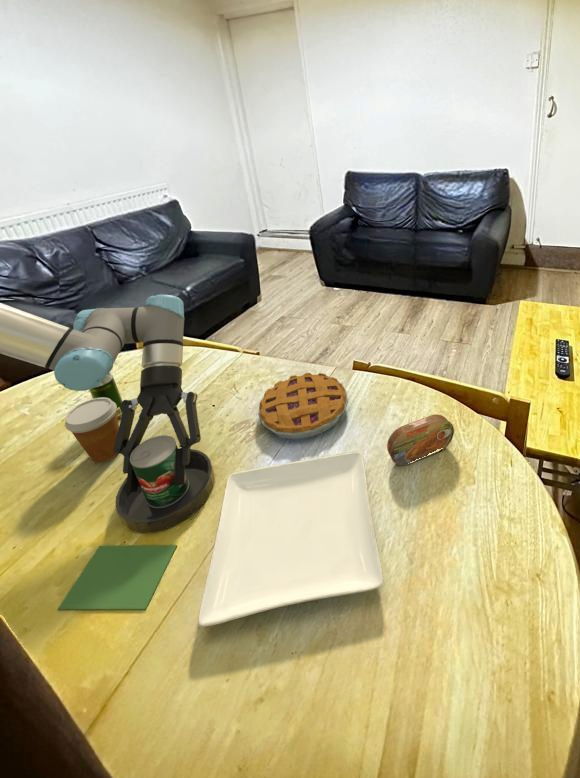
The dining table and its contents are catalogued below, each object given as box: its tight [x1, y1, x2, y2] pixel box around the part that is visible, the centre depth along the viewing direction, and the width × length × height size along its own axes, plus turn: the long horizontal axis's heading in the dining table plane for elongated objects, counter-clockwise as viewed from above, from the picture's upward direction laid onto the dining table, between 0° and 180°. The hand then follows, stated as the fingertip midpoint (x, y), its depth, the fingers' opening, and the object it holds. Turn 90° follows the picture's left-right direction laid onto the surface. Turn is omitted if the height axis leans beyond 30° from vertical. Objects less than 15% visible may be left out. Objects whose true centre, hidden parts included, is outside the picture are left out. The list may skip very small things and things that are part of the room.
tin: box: [386, 413, 455, 466], centre depth 87 cm, size 15×3×8 cm, turn 114°
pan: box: [114, 448, 216, 534], centre depth 82 cm, size 17×17×3 cm
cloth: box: [57, 544, 178, 611], centre depth 68 cm, size 14×10×1 cm
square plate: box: [197, 450, 384, 628], centre depth 73 cm, size 27×27×4 cm
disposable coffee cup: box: [64, 397, 120, 464], centre depth 91 cm, size 10×10×12 cm
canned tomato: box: [130, 434, 189, 508], centre depth 80 cm, size 8×8×11 cm
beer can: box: [88, 371, 123, 420], centre depth 102 cm, size 5×5×12 cm
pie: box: [257, 372, 349, 440], centre depth 102 cm, size 22×22×5 cm
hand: (155, 488), depth 78 cm, fingers closed on canned tomato, 8 cm apart
